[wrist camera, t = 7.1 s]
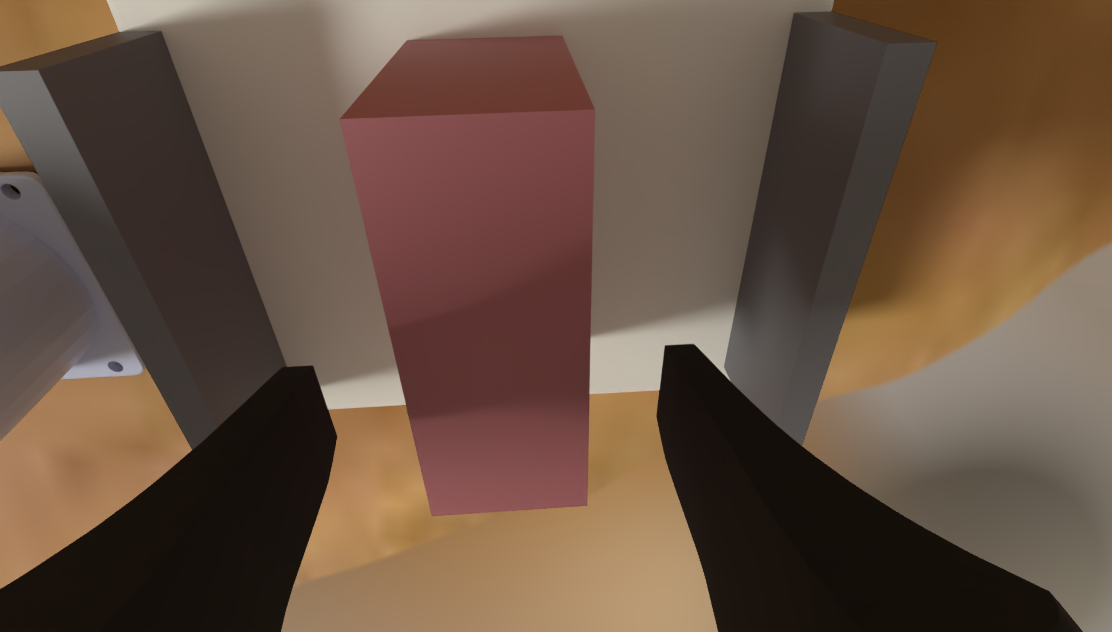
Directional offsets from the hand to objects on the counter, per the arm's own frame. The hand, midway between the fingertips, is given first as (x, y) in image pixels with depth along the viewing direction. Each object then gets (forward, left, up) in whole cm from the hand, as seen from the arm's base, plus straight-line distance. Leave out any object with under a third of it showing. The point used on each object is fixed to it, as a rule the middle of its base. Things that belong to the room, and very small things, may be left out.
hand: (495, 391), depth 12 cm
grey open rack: (0, 0, -9) cm, 9 cm away
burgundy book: (0, +1, -7) cm, 7 cm away
